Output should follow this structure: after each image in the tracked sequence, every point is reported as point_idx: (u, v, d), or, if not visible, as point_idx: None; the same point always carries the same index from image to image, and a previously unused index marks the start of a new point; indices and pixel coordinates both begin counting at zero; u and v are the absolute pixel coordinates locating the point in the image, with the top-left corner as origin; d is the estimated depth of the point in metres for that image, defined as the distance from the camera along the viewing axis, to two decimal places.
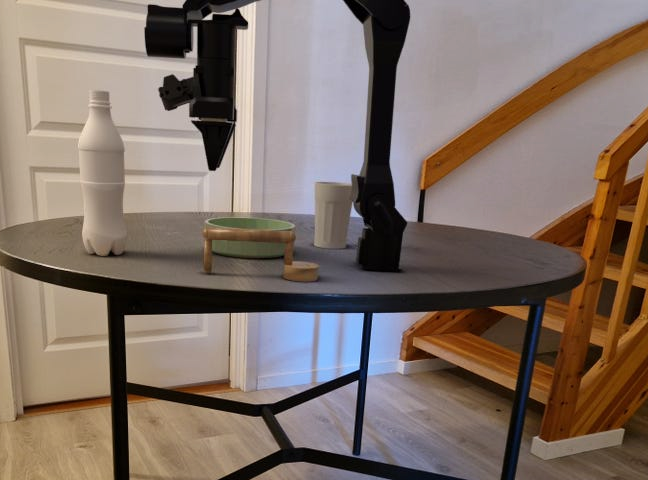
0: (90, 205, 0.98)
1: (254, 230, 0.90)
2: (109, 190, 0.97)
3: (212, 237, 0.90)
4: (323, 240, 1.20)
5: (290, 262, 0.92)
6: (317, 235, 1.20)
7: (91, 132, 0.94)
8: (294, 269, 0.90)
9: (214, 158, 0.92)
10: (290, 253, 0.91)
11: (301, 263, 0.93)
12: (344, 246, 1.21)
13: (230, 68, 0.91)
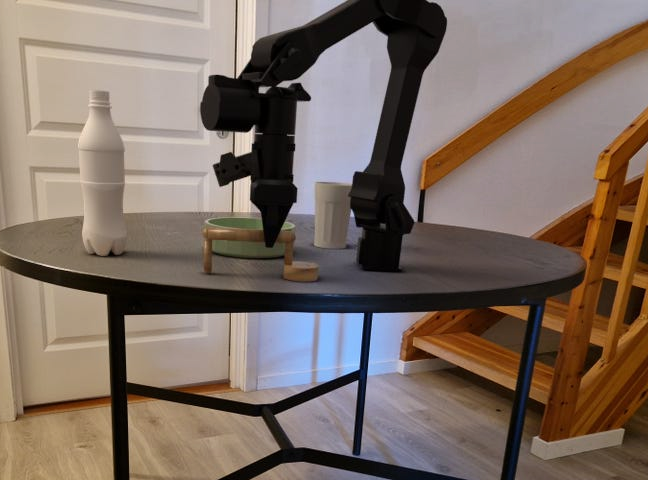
0: (90, 205, 0.98)
1: (254, 230, 0.90)
2: (109, 190, 0.97)
3: (212, 237, 0.90)
4: (323, 240, 1.20)
5: (290, 262, 0.92)
6: (317, 235, 1.20)
7: (91, 132, 0.94)
8: (294, 269, 0.90)
9: (272, 235, 0.89)
10: (290, 253, 0.91)
11: (301, 263, 0.93)
12: (344, 246, 1.21)
13: (291, 144, 0.84)
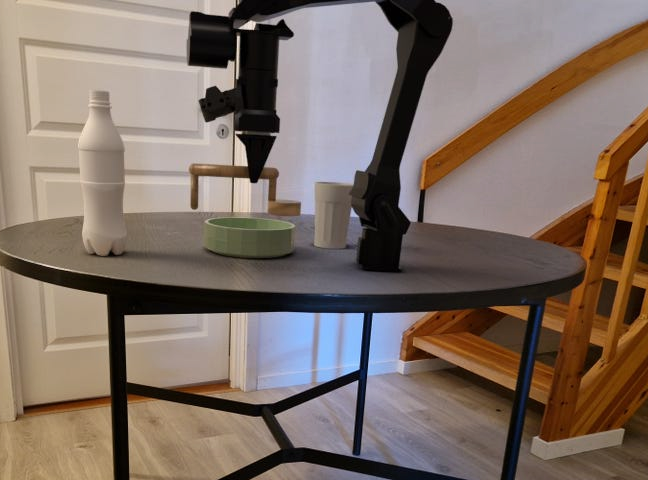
0: (90, 205, 0.98)
1: (239, 166, 0.94)
2: (109, 190, 0.97)
3: (198, 173, 0.93)
4: (323, 240, 1.20)
5: (274, 198, 0.95)
6: (317, 235, 1.20)
7: (91, 132, 0.94)
8: (277, 204, 0.94)
9: (256, 171, 0.93)
10: (274, 189, 0.95)
11: (284, 200, 0.97)
12: (344, 246, 1.21)
13: (274, 79, 0.88)
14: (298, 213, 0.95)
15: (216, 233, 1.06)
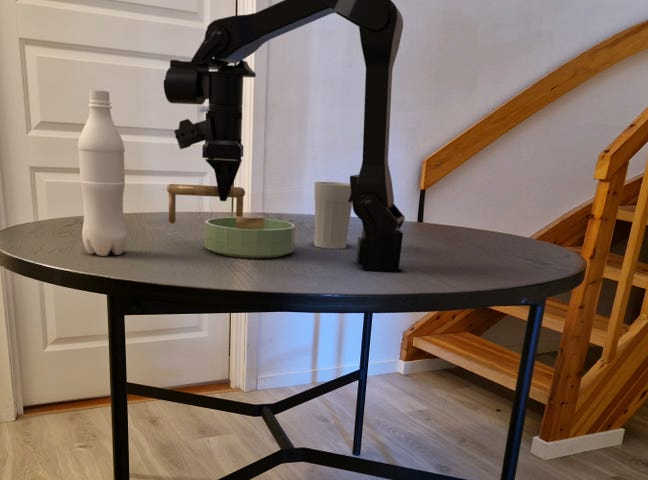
0: (90, 205, 0.98)
1: (210, 186, 1.08)
2: (109, 190, 0.97)
3: (175, 192, 1.08)
4: (323, 240, 1.20)
5: (241, 213, 1.10)
6: (317, 235, 1.20)
7: (91, 132, 0.94)
8: (243, 219, 1.08)
9: (225, 190, 1.07)
10: (240, 206, 1.09)
11: (251, 215, 1.11)
12: (344, 246, 1.21)
13: (238, 113, 1.02)
14: (262, 226, 1.10)
15: (216, 233, 1.06)
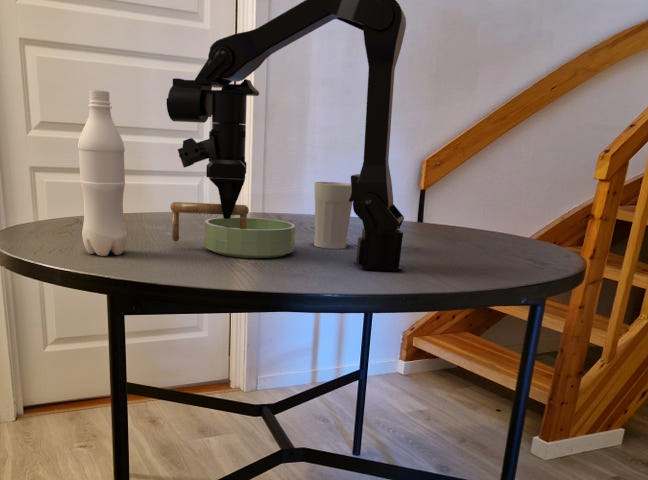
0: (90, 205, 0.98)
1: (213, 204, 1.08)
2: (109, 190, 0.97)
3: (178, 210, 1.08)
4: (323, 240, 1.20)
5: None
6: (317, 235, 1.20)
7: (91, 132, 0.94)
8: None
9: (228, 208, 1.07)
10: (244, 223, 1.09)
11: None
12: (344, 246, 1.21)
13: (242, 131, 1.02)
14: None
15: (216, 233, 1.06)
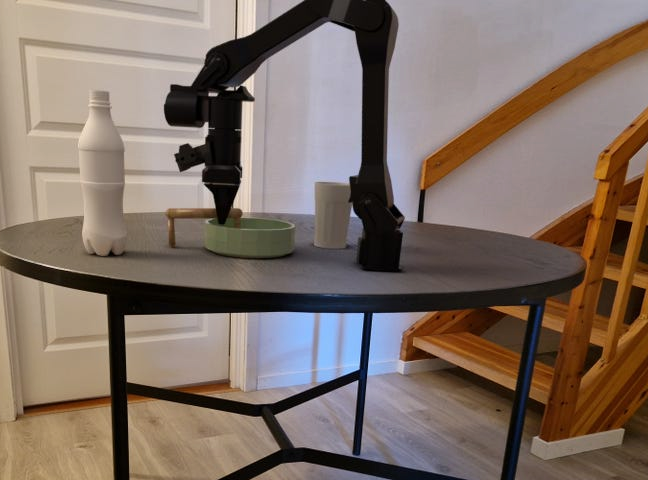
0: (90, 205, 0.98)
1: (207, 209, 1.09)
2: (109, 190, 0.97)
3: (173, 216, 1.09)
4: (323, 240, 1.20)
5: None
6: (317, 235, 1.20)
7: (91, 132, 0.94)
8: None
9: (223, 214, 1.06)
10: (239, 226, 1.10)
11: None
12: (344, 246, 1.21)
13: (237, 137, 1.04)
14: None
15: (216, 233, 1.06)
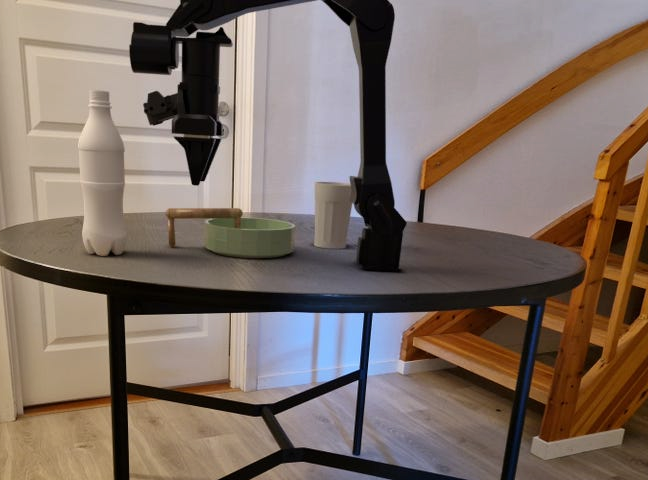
0: (90, 205, 0.98)
1: (207, 209, 1.09)
2: (109, 190, 0.97)
3: (173, 216, 1.09)
4: (323, 240, 1.20)
5: None
6: (317, 235, 1.20)
7: (91, 132, 0.94)
8: None
9: (197, 173, 0.94)
10: (239, 226, 1.10)
11: None
12: (344, 246, 1.21)
13: (214, 85, 0.92)
14: None
15: (216, 233, 1.06)
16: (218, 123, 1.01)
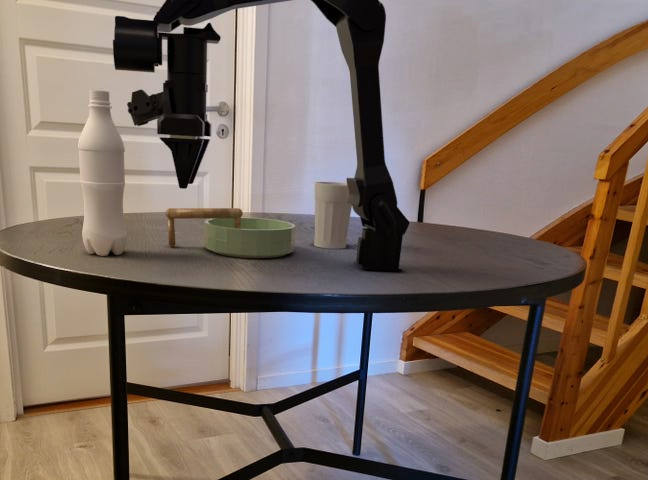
0: (90, 205, 0.98)
1: (207, 209, 1.09)
2: (109, 190, 0.97)
3: (173, 216, 1.09)
4: (323, 240, 1.20)
5: None
6: (317, 235, 1.20)
7: (91, 132, 0.94)
8: None
9: (185, 175, 0.89)
10: (239, 226, 1.10)
11: None
12: (344, 246, 1.21)
13: (201, 83, 0.88)
14: None
15: (216, 233, 1.06)
16: (206, 123, 0.97)
